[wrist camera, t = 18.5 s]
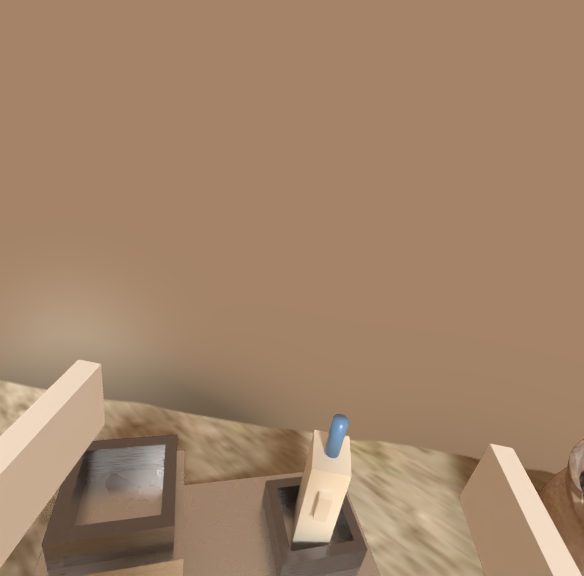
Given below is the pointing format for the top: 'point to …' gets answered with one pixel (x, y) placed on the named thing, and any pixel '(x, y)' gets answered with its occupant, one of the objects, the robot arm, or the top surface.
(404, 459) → the top surface
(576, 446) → the ceramic bowl
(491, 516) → the robot arm
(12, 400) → the top surface
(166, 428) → the top surface
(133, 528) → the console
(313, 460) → the plug
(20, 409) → the top surface
